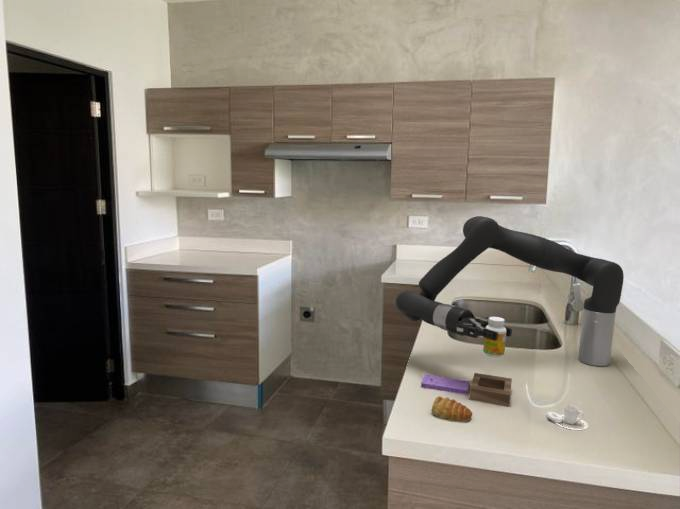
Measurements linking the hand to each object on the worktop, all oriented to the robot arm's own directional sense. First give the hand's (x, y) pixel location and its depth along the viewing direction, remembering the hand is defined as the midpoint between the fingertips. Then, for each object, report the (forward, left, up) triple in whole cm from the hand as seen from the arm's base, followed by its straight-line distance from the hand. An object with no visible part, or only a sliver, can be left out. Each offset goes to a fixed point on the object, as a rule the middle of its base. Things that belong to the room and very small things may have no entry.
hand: (503, 334), depth 133 cm
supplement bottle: (-1, -2, -6) cm, 7 cm away
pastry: (+15, -11, -18) cm, 26 cm away
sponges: (-2, -14, -18) cm, 23 cm away
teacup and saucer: (+5, +15, -18) cm, 24 cm away
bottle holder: (-1, -2, -17) cm, 17 cm away
